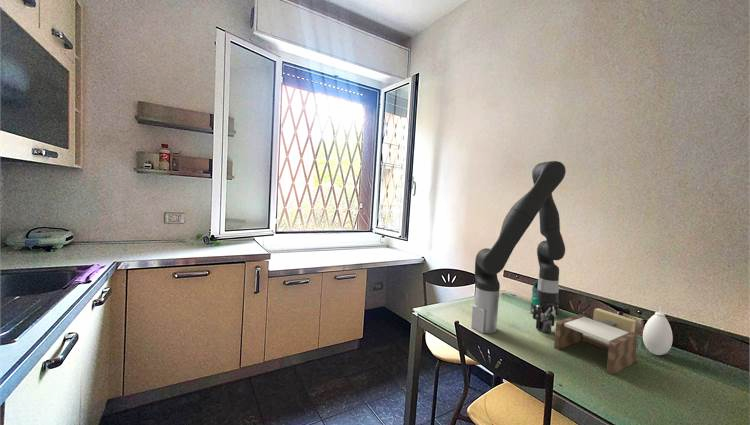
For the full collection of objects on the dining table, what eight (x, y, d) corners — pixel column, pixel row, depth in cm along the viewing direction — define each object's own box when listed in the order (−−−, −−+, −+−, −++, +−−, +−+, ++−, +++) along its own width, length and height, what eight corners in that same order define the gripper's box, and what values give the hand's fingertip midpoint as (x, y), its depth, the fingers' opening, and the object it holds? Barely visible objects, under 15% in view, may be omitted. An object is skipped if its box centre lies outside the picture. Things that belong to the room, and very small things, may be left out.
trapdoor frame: (611, 375, 93) (614, 344, 92) (554, 347, 109) (556, 321, 108) (637, 360, 102) (640, 332, 102) (580, 337, 118) (583, 313, 117)
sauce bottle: (671, 354, 107) (676, 307, 106) (669, 362, 102) (675, 312, 101) (642, 345, 113) (647, 300, 112) (639, 352, 108) (644, 305, 107)
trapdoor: (609, 351, 95) (611, 333, 94) (562, 332, 107) (564, 316, 107) (638, 337, 106) (640, 321, 105) (593, 321, 118) (594, 307, 118)
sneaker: (554, 305, 153) (556, 277, 152) (546, 319, 135) (549, 287, 134) (534, 300, 159) (536, 273, 158) (524, 313, 141) (527, 282, 140)
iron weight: (546, 334, 119) (547, 322, 119) (534, 329, 123) (535, 318, 123) (553, 332, 121) (554, 320, 121) (541, 327, 126) (542, 315, 125)
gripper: (548, 284, 128) (546, 320, 129) (528, 288, 121) (526, 326, 122) (566, 289, 121) (563, 327, 122) (546, 294, 114) (543, 334, 115)
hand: (545, 327), depth 122 cm, fingers open, 8 cm apart
